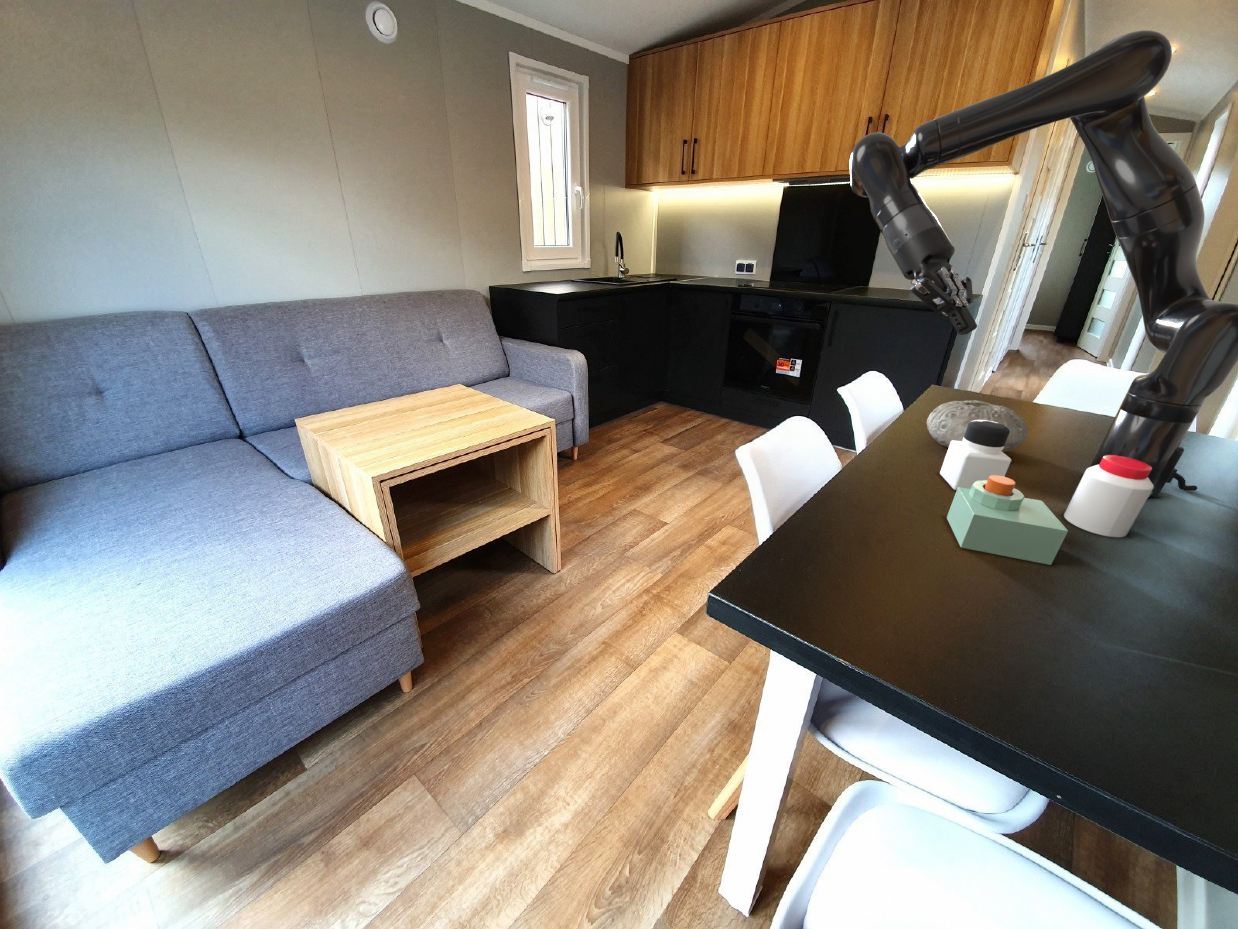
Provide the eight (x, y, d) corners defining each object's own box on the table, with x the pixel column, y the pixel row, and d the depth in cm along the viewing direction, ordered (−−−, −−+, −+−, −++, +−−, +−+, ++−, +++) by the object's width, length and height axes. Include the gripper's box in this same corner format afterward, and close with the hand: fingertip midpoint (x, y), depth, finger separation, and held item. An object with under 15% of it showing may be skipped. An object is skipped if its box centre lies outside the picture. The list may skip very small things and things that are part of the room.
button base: (1026, 532, 76) (1046, 489, 72) (1051, 565, 68) (1074, 519, 65) (946, 517, 79) (961, 476, 76) (960, 547, 71) (978, 503, 68)
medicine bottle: (997, 495, 86) (1024, 432, 81) (953, 490, 88) (977, 428, 82) (979, 478, 93) (1002, 418, 88) (938, 473, 94) (959, 414, 89)
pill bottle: (1111, 517, 81) (1143, 456, 76) (1138, 541, 74) (1176, 477, 70) (1055, 508, 83) (1083, 448, 78) (1076, 531, 76) (1109, 468, 72)
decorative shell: (915, 427, 117) (928, 387, 113) (1003, 440, 111) (1020, 398, 107) (928, 455, 102) (944, 410, 98) (1030, 471, 96) (1051, 424, 92)
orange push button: (1006, 489, 73) (1011, 477, 72) (1013, 499, 70) (1019, 486, 69) (981, 485, 74) (986, 473, 73) (987, 494, 71) (992, 482, 70)
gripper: (911, 222, 74) (968, 318, 69) (962, 225, 80) (1017, 314, 75) (872, 258, 80) (921, 348, 76) (921, 259, 86) (969, 342, 82)
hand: (968, 331), depth 76 cm, fingers closed
